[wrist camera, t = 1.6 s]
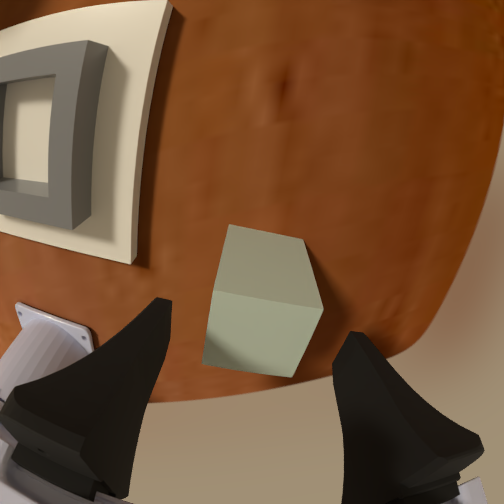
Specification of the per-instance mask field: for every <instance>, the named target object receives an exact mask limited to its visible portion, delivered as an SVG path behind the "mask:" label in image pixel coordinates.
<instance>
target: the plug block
mask: <svg viewBox="0 0 504 504" xmlns="http://www.w3.org/2000/svg"><path fill="white" fill-rule="evenodd" d="M323 310H324V309H323V305H322V302H321V298H320V295H319V291H318V288H317V284H316V281H315V277H314V274H313V270H312V267H311V264H310V260H309V257H308V254H307V250H306V247H305V244H304V241H303V239H298V238H294V237H289V236H284V235H279V234H274V233H270V232H265V231H260V230H255V229H250V228H245V227H240V226H235V225H230V224H229V227H228V231H227V235H226V239H225V243H224V247H223V251H222V256H221V260H220V264H219V268H218V272H217V276H216V281H215V285H214V289H213V295H212V301H211V307H210V313H209V319H208V326H207V332H206V338H205V345H204V351H203V358H202V364H205V365H210V366H216V367H221V368H227V369H233V370H239V371H246V372H252V373H260V374H267V375H275V376H283V377H292V376H293V374H294V372H295V370H296V368H297V366H298V364H299V362H300V360H301V358H302V356H303V354H304V352H305V350H306V347H307V345H308V343H309V341H310V339H311V337H312V335H313V332H314V330H315V328H316V326H317V323H318V321H319V319H320V317H321V314H322V312H323Z"/></svg>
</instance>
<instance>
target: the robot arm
mask: <svg viewBox="0 0 504 504" xmlns="http://www.w3.org/2000/svg"><path fill="white" fill-rule="evenodd" d="M15 308H16V311H17V314H18V317H19V320H20V323H21V326H22V331H21V332H20V333H19V335H18V336H17V337H16V338H15V340H14V341H13V343H12V344H11V345H10V347H9V348H8V349H7V351H6V352H5V353H4V355H3V356H2V358H1V359H0V504H133V503H130V502H126V501H123V500H121V499H124V498H126V497H127V496H128V494H129V486H130V479H131V473H132V467H133V462H134V456H135V451H136V446H137V442H138V437H139V433H140V429H141V424H142V420H143V416H144V412H145V409H146V406H147V403H148V401H149V398H150V395H151V393H152V390H153V388H154V385H155V383H156V380H157V378H158V375H159V372H160V370H161V367H162V365H163V362H164V360H165V356H166V352H167V349H168V345H169V341H170V333H171V312H172V301H171V300H167V299H162V298H158V297H157V298H155V299H154V300H153V301H152V302H151V303H150V304H149V305H148V306H147V307H146V308H145V309H144V310H143V311H142V312H141V313H140V314H139V315H138V316H137V317H136V318H134V319H133V320H132V321H131V322H130V323H129V324H128V325H127V326H125V327H124V328H123V329H122V330H121V331H120V332H118V333H117V334H116V335H115V336H113V337H112V338H111V339H110V340H108V341H107V342H106V343H104V344H103V345H102V346H100V347H99V348H97V349H96V350H94V346H93V341H92V337H91V332H90V330H89V329H88V328H87V327H85V326H82V325H79V324H76V323H73V322H70V321H67V320H64V319H62V318H59V317H56V316H53V315H51V314H48V313H45V312H43V311H40V310H37V309H35V308H32V307H30V306H27V305H25V304H22V303H20V302H17V303H16V305H15ZM332 370H333V385H334V390H335V395H336V400H337V406H338V410H339V416H340V421H341V425H342V433H343V445H344V482H343V495H342V503H341V504H487V500H486V496H485V493H484V489H483V486H482V483H481V480H480V477H476V478H474V479H471V480H469V481H467V482H464V483H462V484H460V485H457V481H458V480H459V479H460V474H459V472H460V471H461V470H463V469H465V468H466V467H467V466H469V465H470V464H471V463H473V462H474V461H476V460H477V459H478V458H479V457H480V456H481V455H482V454H483V452H484V447H483V445H482V442H481V440H480V437H479V435H477V434H476V433H474V432H472V431H470V430H468V429H465V428H464V427H462V426H460V425H458V424H457V423H455V422H453V421H452V420H450V419H449V418H447V417H446V416H444V415H443V414H441V413H440V412H439V411H437V410H436V409H435V408H433V407H432V406H431V405H430V404H429V403H427V402H426V401H425V400H424V399H423V398H422V397H420V395H418V394H417V393H416V392H415V391H414V390H413V389H412V388H411V387H410V386H409V385H408V384H407V383H406V382H405V381H404V379H403V378H402V377H401V376H400V375H399V374H398V373H397V372H396V371H395V370H394V368H393V367H392V366H391V365H390V364H389V362H388V361H387V360H386V359H385V358H384V356H383V355H382V354H381V353H380V352H379V350H378V349H377V348H376V347H375V346H374V344H373V343H372V342H371V341H370V340H369V338H368V337H367V336H366V335H365V334H364V333H363V332H354V331H350V333H349V334H348V336H347V338H346V340H345V342H344V344H343V345H342V347H341V349H340V351H339V353H338V354H337V356H336V358H335V360H334V361H333V363H332Z"/></svg>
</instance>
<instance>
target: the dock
mask: <svg viewBox="0 0 504 504" xmlns="http://www.w3.org/2000/svg"><path fill="white" fill-rule="evenodd" d="M172 9H173V5H172V4H171V3H170V2H169V1H168V0H150V1H133V2H121V3H112V4H104V5H97V6H90V7H84V8H79V9H74V10H69V11H64V12H60V13H56V14H52V15H48V16H44V17H40V18H37V19H33V20H30V21H27V22H24V23H20V24H17V25H15V26H12V27H9V28H6V29H3V30H1V31H0V231H1V232H4V233H8V234H11V235H15V236H19V237H22V238H26V239H30V240H34V241H37V242H41V243H45V244H49V245H53V246H56V247H60V248H64V249H68V250H72V251H76V252H80V253H84V254H89V255H93V256H97V257H101V258H105V259H110V260H114V261H118V262H123V263H127V264H131V263H132V262H133V261H134V259H135V258H136V257H137V235H138V213H139V198H140V185H141V174H142V164H143V155H144V147H145V139H146V131H147V124H148V118H149V111H150V105H151V99H152V94H153V88H154V83H155V78H156V73H157V68H158V64H159V59H160V55H161V50H162V46H163V42H164V38H165V34H166V30H167V26H168V23H169V19H170V15H171V12H172Z"/></svg>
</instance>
